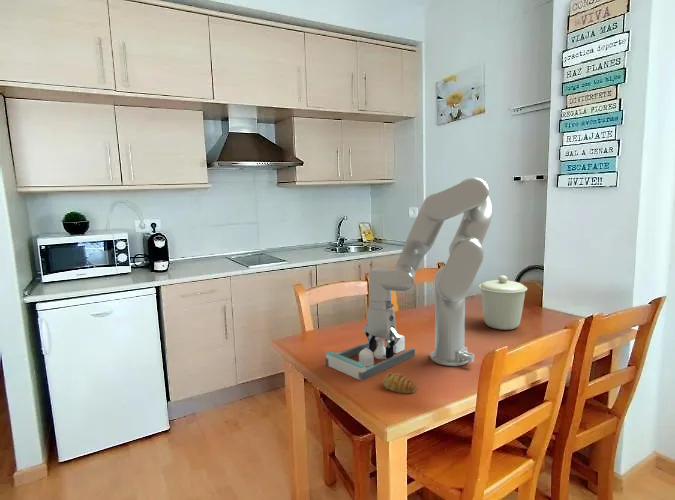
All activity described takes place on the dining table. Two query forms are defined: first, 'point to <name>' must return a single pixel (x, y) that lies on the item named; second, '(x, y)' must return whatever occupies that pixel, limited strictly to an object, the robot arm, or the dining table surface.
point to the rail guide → (359, 370)
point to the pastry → (399, 383)
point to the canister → (502, 303)
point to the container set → (380, 351)
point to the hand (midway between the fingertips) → (381, 354)
